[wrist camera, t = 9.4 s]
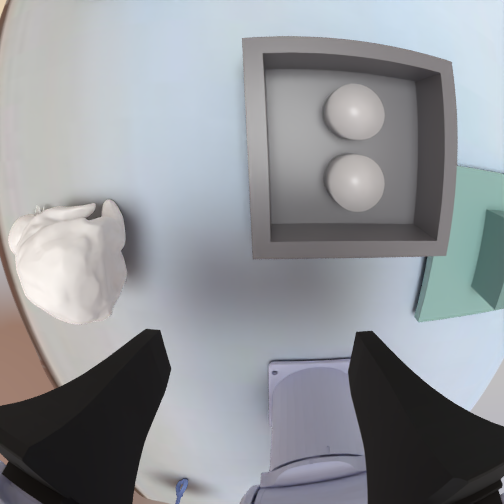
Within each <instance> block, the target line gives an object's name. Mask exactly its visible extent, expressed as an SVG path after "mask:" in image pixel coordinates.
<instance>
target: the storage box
mask: <svg viewBox="0 0 504 504" xmlns="http://www.w3.org/2000/svg"><path fill="white" fill-rule="evenodd" d="M242 47H243V67H244V88H245V108H246V129H247V150H248V170H249V191H250V212H251V232H252V253H253V259H310V258H373V257H422V256H446V254H447V249H448V243H449V237H450V231H451V224H452V217H453V209H454V200H455V189H456V174H457V109H456V96H455V85H454V76H453V69H452V62H450V61H447V60H444V59H441V58H437V57H434V56H430V55H427V54H423V53H419V52H415V51H411V50H407V49H402V48H397V47H392V46H387V45H382V44H376V43H369V42H362V41H355V40H346V39H336V38H322V37H298V36H277V37H252V38H242Z"/></svg>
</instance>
